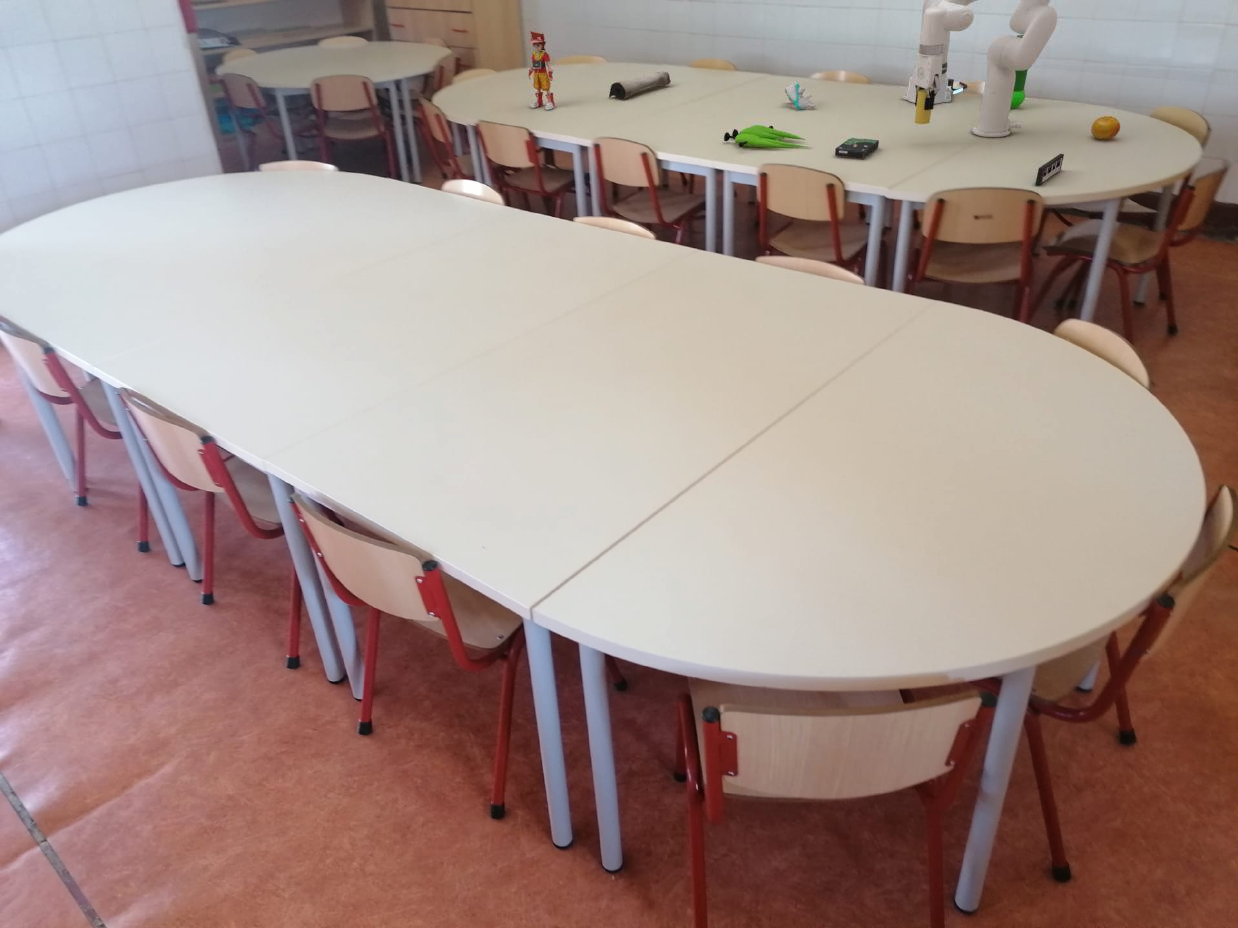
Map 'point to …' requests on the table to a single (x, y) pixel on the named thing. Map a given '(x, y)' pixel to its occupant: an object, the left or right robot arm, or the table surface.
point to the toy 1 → (541, 71)
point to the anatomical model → (798, 96)
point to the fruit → (1105, 127)
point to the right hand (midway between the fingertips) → (924, 107)
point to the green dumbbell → (1019, 86)
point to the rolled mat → (638, 84)
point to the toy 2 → (761, 137)
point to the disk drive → (856, 148)
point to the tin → (922, 108)
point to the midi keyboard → (1049, 169)
